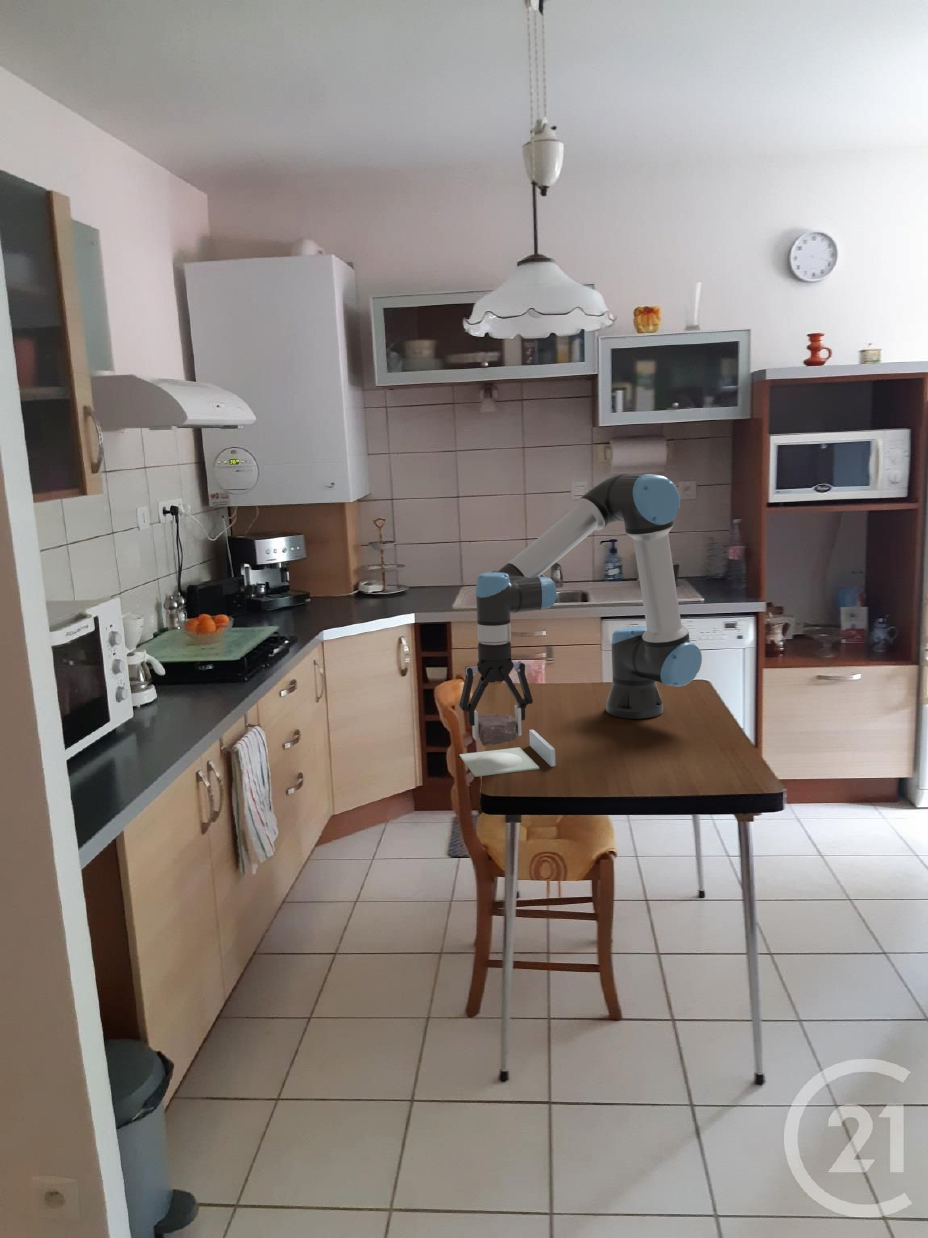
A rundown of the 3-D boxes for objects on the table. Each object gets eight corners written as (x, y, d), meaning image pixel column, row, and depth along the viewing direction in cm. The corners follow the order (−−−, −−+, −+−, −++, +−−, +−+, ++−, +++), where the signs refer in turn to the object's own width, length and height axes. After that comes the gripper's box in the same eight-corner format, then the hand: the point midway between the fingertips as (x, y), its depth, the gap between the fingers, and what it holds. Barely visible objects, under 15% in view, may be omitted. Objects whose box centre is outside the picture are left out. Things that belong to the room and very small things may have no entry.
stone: (518, 745, 208) (518, 725, 207) (478, 747, 208) (477, 727, 207) (515, 729, 220) (514, 710, 219) (477, 731, 219) (476, 712, 219)
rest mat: (519, 749, 223) (519, 747, 223) (539, 768, 209) (539, 766, 209) (459, 756, 220) (459, 754, 220) (475, 776, 206) (475, 774, 205)
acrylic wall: (533, 745, 226) (533, 729, 225) (555, 766, 210) (555, 749, 210) (529, 745, 225) (529, 730, 225) (551, 766, 210) (550, 749, 209)
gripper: (535, 634, 215) (537, 726, 219) (442, 642, 210) (446, 736, 214) (546, 640, 208) (548, 735, 212) (450, 648, 203) (454, 746, 207)
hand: (497, 736), depth 213 cm, fingers closed on stone, 9 cm apart
